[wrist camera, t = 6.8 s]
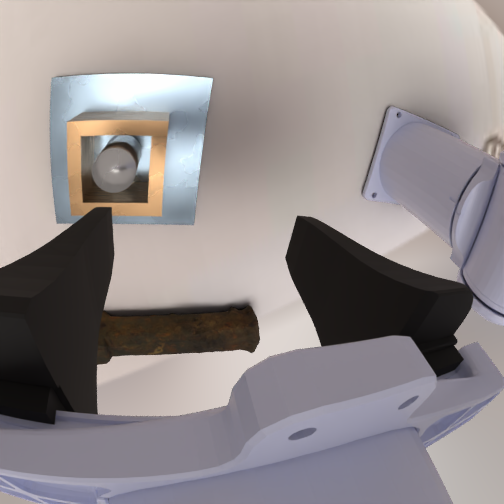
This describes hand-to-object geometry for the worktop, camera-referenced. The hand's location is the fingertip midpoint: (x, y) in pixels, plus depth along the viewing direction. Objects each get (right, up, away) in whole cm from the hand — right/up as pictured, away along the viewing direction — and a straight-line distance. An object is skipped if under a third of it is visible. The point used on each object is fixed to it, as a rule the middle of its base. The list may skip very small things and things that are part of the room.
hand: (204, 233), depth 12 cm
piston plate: (-6, +6, +6) cm, 10 cm away
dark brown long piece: (-8, -7, +15) cm, 18 cm away
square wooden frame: (-6, +5, +6) cm, 10 cm away
